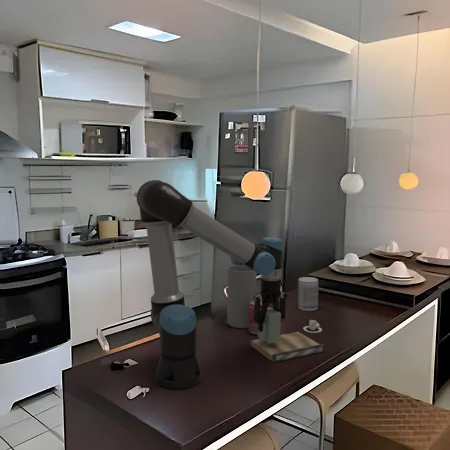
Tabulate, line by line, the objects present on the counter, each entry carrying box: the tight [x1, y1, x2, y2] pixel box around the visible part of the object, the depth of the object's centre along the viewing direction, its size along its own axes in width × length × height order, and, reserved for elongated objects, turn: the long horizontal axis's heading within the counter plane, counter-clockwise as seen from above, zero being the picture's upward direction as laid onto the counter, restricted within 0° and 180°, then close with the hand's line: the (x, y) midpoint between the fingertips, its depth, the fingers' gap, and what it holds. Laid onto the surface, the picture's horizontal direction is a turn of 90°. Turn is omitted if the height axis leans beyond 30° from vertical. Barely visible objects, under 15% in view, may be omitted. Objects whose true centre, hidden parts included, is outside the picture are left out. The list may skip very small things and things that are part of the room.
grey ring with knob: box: [303, 319, 323, 334], centre depth 200 cm, size 9×8×4 cm
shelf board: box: [250, 331, 325, 363], centre depth 180 cm, size 22×17×3 cm
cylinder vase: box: [226, 264, 257, 329], centre depth 205 cm, size 12×12×25 cm
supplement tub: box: [297, 276, 319, 312], centre depth 227 cm, size 10×10×15 cm
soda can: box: [248, 300, 262, 336], centre depth 195 cm, size 7×7×13 cm
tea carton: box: [257, 306, 282, 344], centre depth 178 cm, size 8×5×11 cm, turn 26°
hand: (268, 338), depth 179 cm, fingers closed on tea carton, 5 cm apart
